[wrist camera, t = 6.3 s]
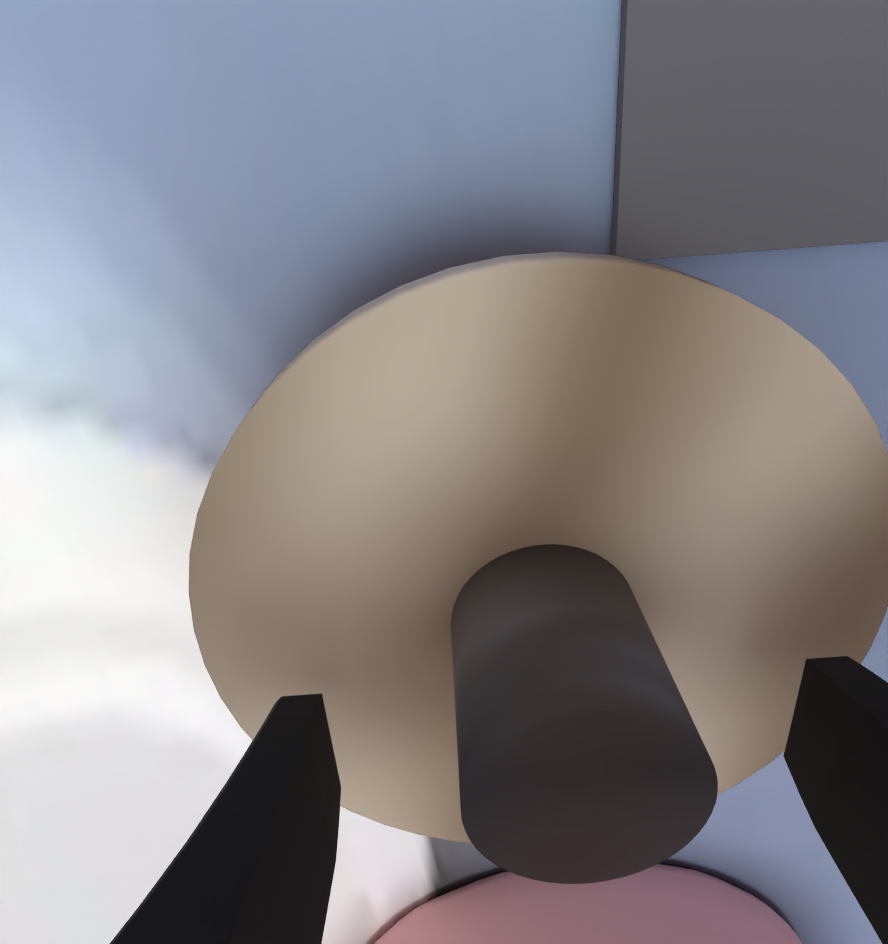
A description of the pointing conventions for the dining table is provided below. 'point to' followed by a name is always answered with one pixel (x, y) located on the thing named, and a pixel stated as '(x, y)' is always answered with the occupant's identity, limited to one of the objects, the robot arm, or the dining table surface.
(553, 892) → the cake
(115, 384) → the dining table surface
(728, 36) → the mat
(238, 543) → the lid
